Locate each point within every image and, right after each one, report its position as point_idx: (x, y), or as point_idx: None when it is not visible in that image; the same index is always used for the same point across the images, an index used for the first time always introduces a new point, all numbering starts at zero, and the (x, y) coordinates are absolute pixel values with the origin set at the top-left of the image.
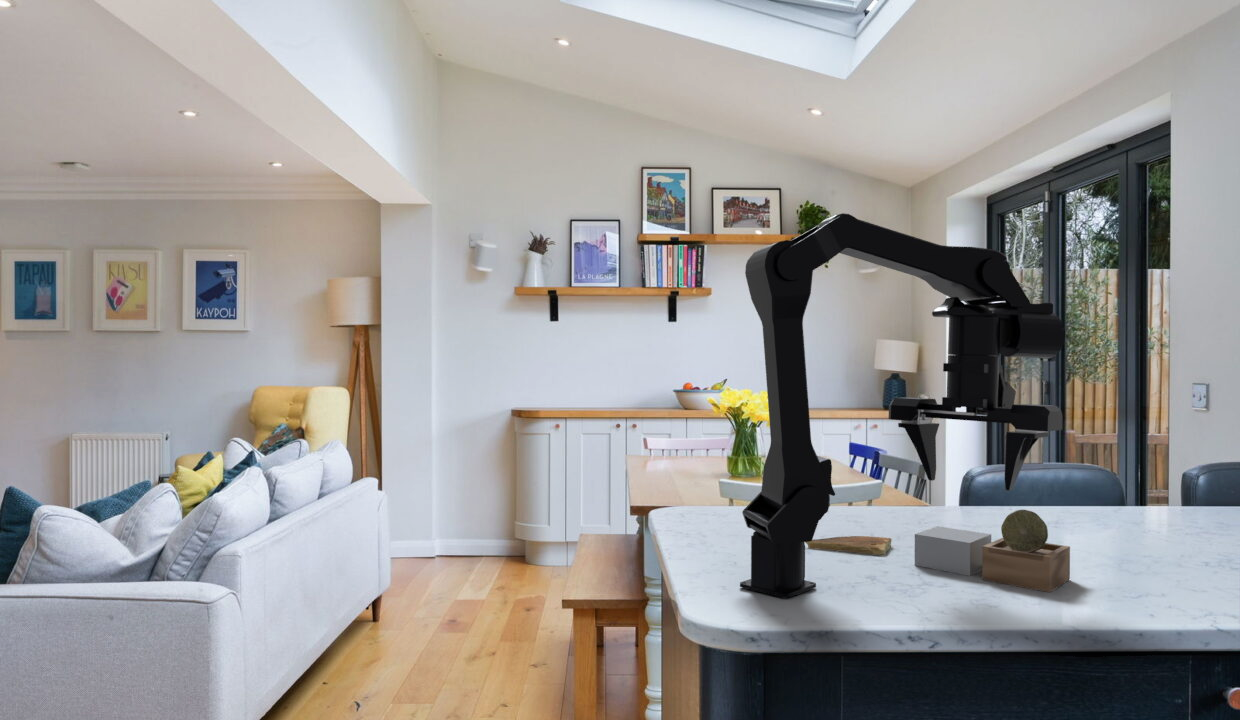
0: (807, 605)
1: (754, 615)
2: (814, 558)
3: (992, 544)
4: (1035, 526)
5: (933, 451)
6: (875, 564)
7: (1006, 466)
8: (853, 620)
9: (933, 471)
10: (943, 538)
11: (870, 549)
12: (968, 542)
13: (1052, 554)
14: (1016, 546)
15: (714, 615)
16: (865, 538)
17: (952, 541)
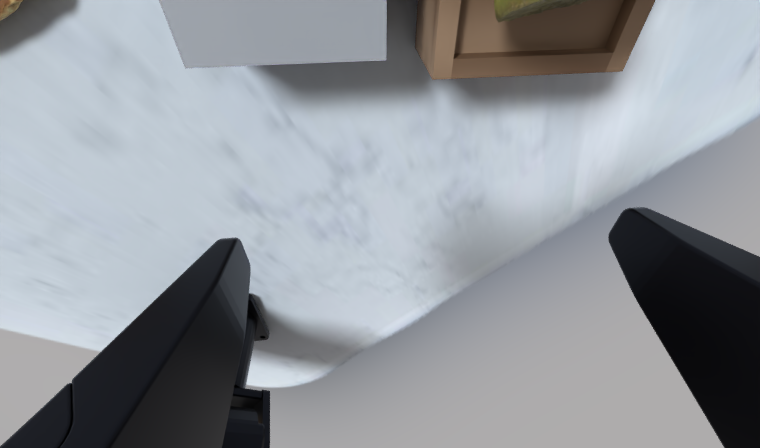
0: (298, 330)
1: (290, 364)
2: (42, 167)
3: (452, 23)
4: None
5: (169, 416)
6: (157, 109)
7: (681, 365)
8: (363, 330)
9: (235, 291)
10: (291, 60)
11: (15, 8)
12: (380, 58)
13: (638, 24)
14: (533, 13)
15: (269, 379)
16: None
17: (326, 61)
